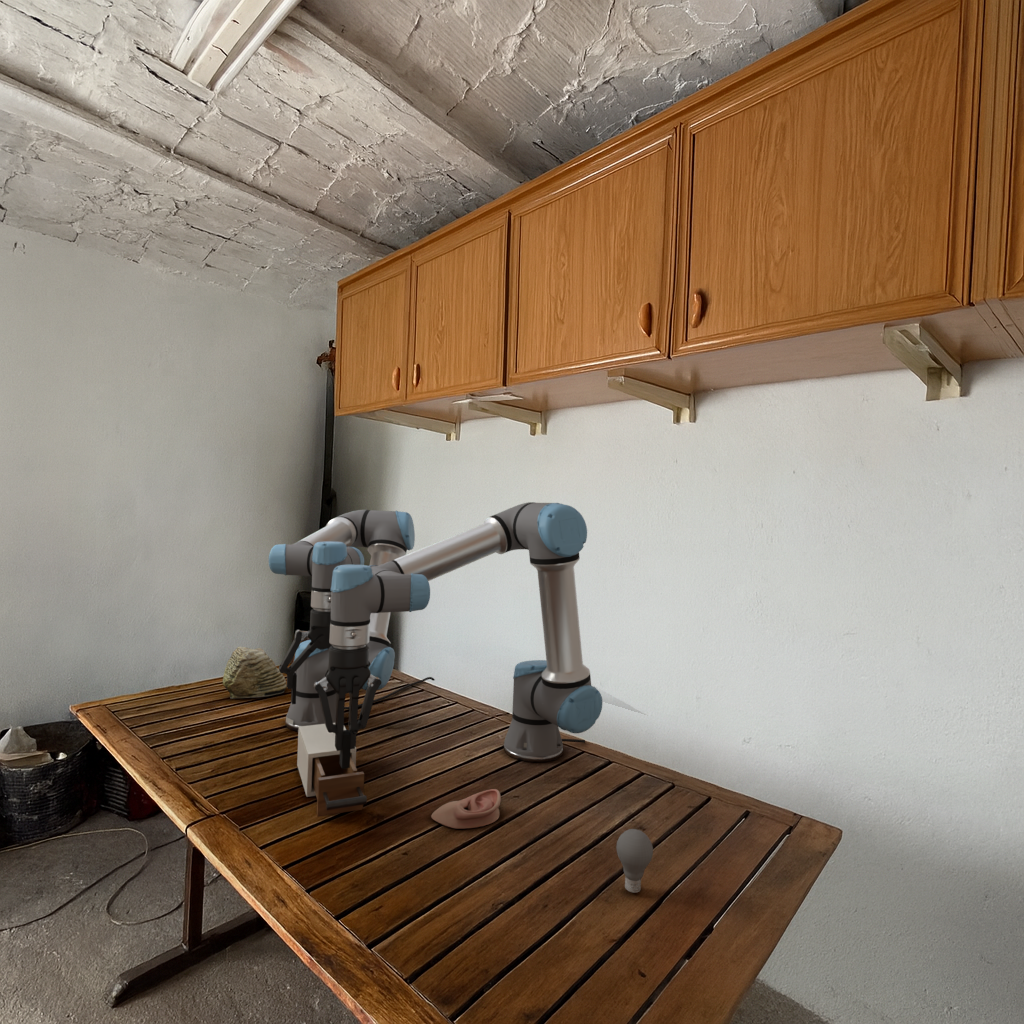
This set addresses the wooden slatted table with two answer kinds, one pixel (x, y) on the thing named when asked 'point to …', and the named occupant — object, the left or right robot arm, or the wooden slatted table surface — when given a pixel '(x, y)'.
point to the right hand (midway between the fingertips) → (344, 765)
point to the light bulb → (634, 857)
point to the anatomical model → (470, 811)
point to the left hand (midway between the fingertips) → (324, 699)
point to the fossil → (252, 674)
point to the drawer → (337, 786)
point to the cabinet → (315, 751)
